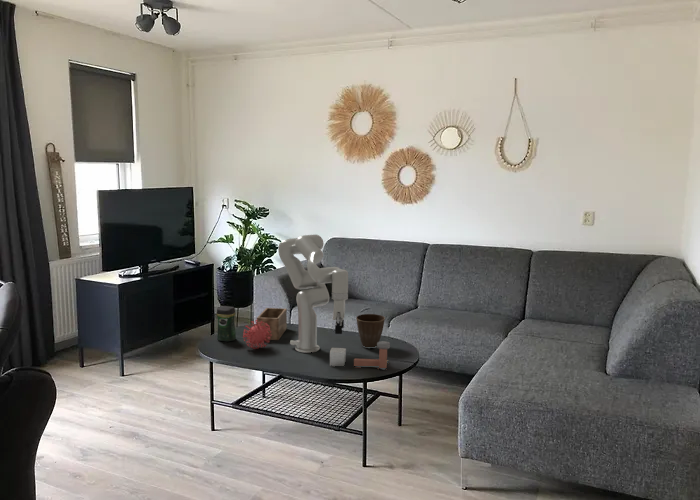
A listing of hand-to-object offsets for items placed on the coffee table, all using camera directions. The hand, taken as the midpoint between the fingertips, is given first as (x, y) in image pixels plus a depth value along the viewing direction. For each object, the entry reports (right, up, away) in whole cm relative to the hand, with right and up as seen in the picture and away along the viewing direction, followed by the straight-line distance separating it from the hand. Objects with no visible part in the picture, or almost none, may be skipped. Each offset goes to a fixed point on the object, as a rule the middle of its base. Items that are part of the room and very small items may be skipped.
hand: (339, 330), depth 271 cm
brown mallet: (+15, -17, -1) cm, 23 cm away
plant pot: (+16, -13, +29) cm, 35 cm away
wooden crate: (-39, -9, +49) cm, 63 cm away
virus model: (-43, -13, +24) cm, 51 cm away
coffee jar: (-62, -10, +37) cm, 73 cm away
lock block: (-1, -16, +2) cm, 17 cm away
